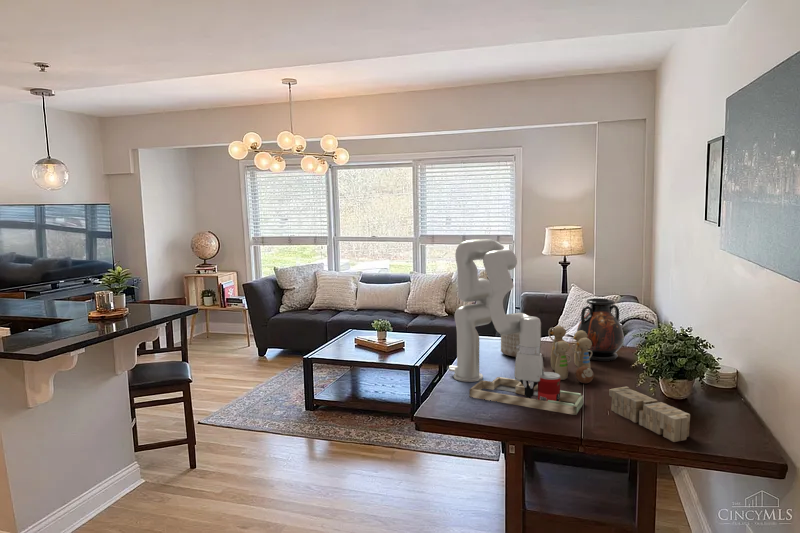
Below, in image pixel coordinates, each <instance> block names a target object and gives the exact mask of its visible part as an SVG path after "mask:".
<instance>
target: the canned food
mask: <svg viewBox="0 0 800 533" xmlns="http://www.w3.org/2000/svg"><path fill="white" fill-rule="evenodd" d="M560 391H561V380H560V375H559V374H557V373H555V371H554V372H553V371H544V375H543V373H542V376H540V382H538V396H537V400H543V401H548V400H553V401H559V402H561V401H560Z"/></svg>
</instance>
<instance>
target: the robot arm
mask: <svg viewBox="0 0 800 533" xmlns="http://www.w3.org/2000/svg"><path fill="white" fill-rule="evenodd" d="M454 257H455V263H456V268H457V296H458V298H459V300H460V301H461V302H464V303H472V304H466V305H465V304H464V305H462V306H459V307H458V308H457V309H456V310H455V313H454V322H455V326H456V365H449V366H448V370H449V372H454V373H453V379H454V380H456V381H459V382H466V383H474V382H480V381H481V380H484V379H483V378H484V375H483V373H481V372H480V335H479V333H478V331H477V329H476V327H479V326H480V327H482V326H485V325H489V324H490V323H491V322H492V324H493V326H494V329H495V331H497V332H496V333H498V334H500V335H501V334H502V335H508V334H513V333H520V344H519V345H516V349H519V352H517V356H516V357H515V362H514V363H515V364H514V379H515V380H517V381H519V382H521V383H522V384H523V386H524V387H525V395H524V396H525V398H531V399H532V398H533V396H534V387H535V386H536V385H538V382H540V376H542V373H543V375H544V372H545V369H544V368H545V367H544V366H545V365H544V359H543V355H542V352H541V353H540V327H541V328H542V322H541V319H540V318H539V317H538V316H531V315H528V314H526V313H524V312H515V313H508V314H506V311H505V309H504V299H505V296H506V295H507V294H508V293H509V292H511V290H513V288H514V282H513V278H512V277H511V273H510V271H511V270H512V271H513V270H514V269H515V268H516V266H517V264H518V261H517V256H516V254H515V252H514V251H512V250H511V249H510V248H509V247H507V246H505V245H504V244H503V243H501V242H499V241H497V240H495V239H492V238H483V239H482V238H480V239H478V238H477V239H468V240H465V241H461V242H460V243H459V244H458V245H457V247H456V250H455V255H454ZM479 260H480V261H482V264H483V267H484V270H485V273H486V275H487V278H488V279H487V278H481V277H480V278H479V274H478V272H479V271H478V266H477V264H476V263H475V262H474V261H479ZM473 302H476V303H473ZM529 382H530V383H529ZM529 384H530V386H529Z"/></svg>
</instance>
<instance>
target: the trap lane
mask: <svg viewBox="0 0 800 533" xmlns="http://www.w3.org/2000/svg"><path fill="white" fill-rule="evenodd" d="M529 386H530V383H529ZM484 389H486V390H492V391H486V390H484ZM495 390H496V391H501V392H502V391H503V392H504V391H505V392H509V393H515V394H516V395H512V394H504V393H500V392H494V391H495ZM468 395H469V398H472V397H473V398H474V399H481V400H484V399H485V400H486V401H490V400H491V402H496V401H497V402H498V403H503V404H507V405H514V406H520V407H526V408H532V409H537V410H545V411H549V412H556V413H561V414H568V415H573V416H577V414H578V413H579V411H580V409H581V408H582V407H583V405H584V399H585V398H584V395H582V393H579V392H573V391H568V390H567V391H566V390H560V402H559V401H553V400H548V401H543V400H538V398H537V399H535V398H532V397H531V398H526V395H525V387H524V386H523V384H522V383H521V382H519V381H517V380H515V378H509V377H500V376H497V377H496V378H494V380H492V381H490V380H484V379H482V380H480V381H477V383H476V384H474V385H473V386H472V387H470V389H469V394H468ZM517 395H523V396H525V397H523V396H517ZM533 396H535V397H538V385H536V386H535V387H534V395H533ZM485 400H484V401H485Z"/></svg>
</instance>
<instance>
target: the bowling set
mask: <svg viewBox="0 0 800 533" xmlns="http://www.w3.org/2000/svg"><path fill="white" fill-rule="evenodd" d="M547 333H548V337H549V338H550V340H551V341H553V343H552V347H551V353H550V368H551V369H552V371H554V373H557V374H559V375H560V381H564V380H567V379H568V377H569V376H568V375H569V365H568V364H569V363H570V362H571V361H572V356H571V355H570V354H569V353H567V352H568V351H569V350H570V348H572V352H574V355H573V358H574V361H573V362H574V365H575V367H577V369H576V370H575V378H576V379H577V381H579V383H582V384H589V383H591V382H592V381H593V379H594V376H595V375H594V371H593V370H592V368H591V361H590V357H591V356H592V351H591V350H588V349H590V348H591V346H592V342H591V341H590V340H589V339H588V338H587V337H588V335H587V333H586V332H584V331H582V330H580V331H577V330H576V332H575V333H574V337H573V340H575V341H576V343H574V344H572V347H571V344H570V343H568V342H567V341H565V340H564V339H563V337H565V336H566V334H567V331H566V329H565V328H564V327H563V326H561V325H557V326H555V327H550V328H549V329H548V332H547ZM552 336H554V339H553V337H552ZM540 348H541V349H542V342H541V343H540ZM588 352H591V355H590V356H589V353H588ZM567 356H568V358H567Z"/></svg>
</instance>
